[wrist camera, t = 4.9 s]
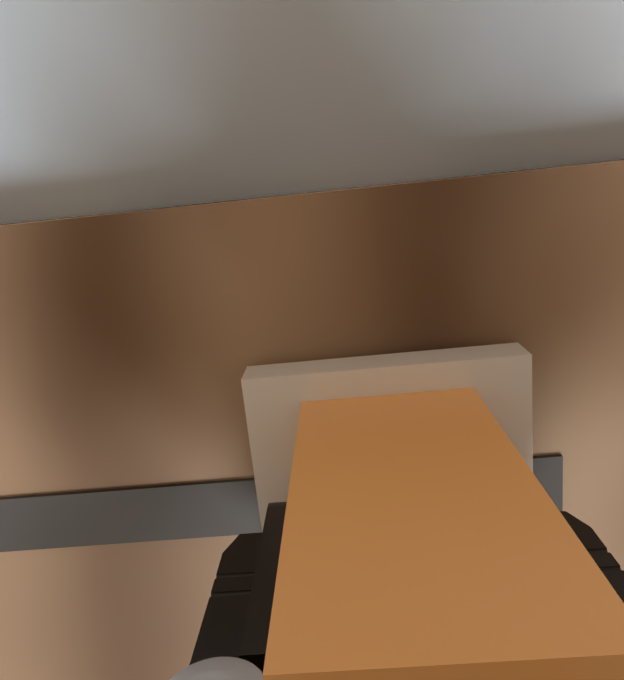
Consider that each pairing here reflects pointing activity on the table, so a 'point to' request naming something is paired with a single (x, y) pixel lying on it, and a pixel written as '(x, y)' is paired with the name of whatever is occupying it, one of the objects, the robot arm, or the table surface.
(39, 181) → the table surface
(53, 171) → the table surface
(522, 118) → the table surface
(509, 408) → the fader tab
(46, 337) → the fader board
